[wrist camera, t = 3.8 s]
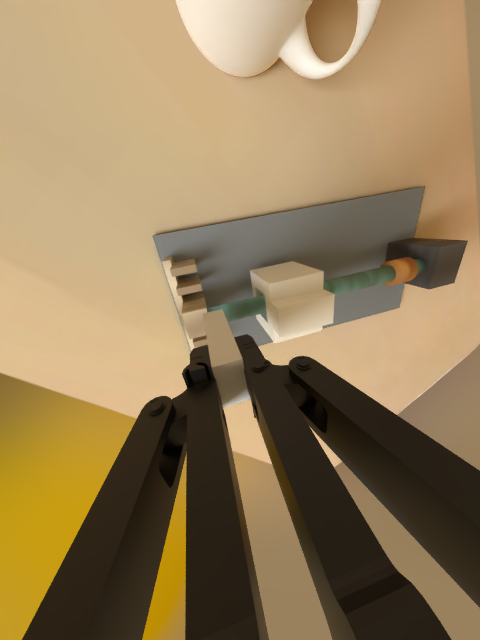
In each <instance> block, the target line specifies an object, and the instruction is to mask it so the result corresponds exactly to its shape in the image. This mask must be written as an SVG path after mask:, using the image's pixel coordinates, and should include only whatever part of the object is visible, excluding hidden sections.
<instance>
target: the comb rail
mask: <svg viewBox="0 0 480 640" xmlns="http://www.w3.org/2000/svg"><path fill="white" fill-rule="evenodd" d="M467 242H468V241H462V240H441V239H421V238H408V239H404V240H399V241H394V242H390V243H388V247H387V253H386V259H385V262H384V263H383V264H382V265H381V266H380V268H375V269H371V270H367V271H363V272H358V273H354V274H350V275H346V276H341V277H337V278H333V279H329V280H325V281H323V289H324V290H326V291H329V292H331V293H333V294H335V295H339V294H343V293H347V292H351V291H355V290H359V289H363V288H367V287H371V286H375V285H379V284H384V285H387V286H392V285H396V284H400V283H406V284H410V285H414V286H418V287H422V288H426V289H432V288H436V287H440V286H444V285H448V284H451V283H454V282H455V278H456V275H457V272H458V269H459V266H460V263H461V260H462V257H463V254H464V251H465V248H466V245H467ZM162 264H163V267H164V270H165V273H166V276H167V279H168V282H169V285H170V288H171V291H172V294H173V298H174V301H175V304H176V307H177V310H178V313H179V316H180V319H181V322H182V325H183V328H184V331H185V334H186V337H187V340H188V343H189V346H190V349H191V351H192V350H193V348H197V347H201V346H205V345H208V342H207V336H206V330H205V324H204V318H203V313H207V312H212V311H216V310H220V309H222V310H223V312H224V314H225V317H226V319H227V322H231V321H235V320H239V319H243V318H247V317H251V316H255V315H259V314H263V313H267V311H266V302H265V295H261V296H257V297H253V298H248V299H244V300H240V301H236V302H232V303H227V304H223V305H219V306H215V307H210V308H207V306H206V302H205V298H204V294H203V292H199V293H194V292H198V291H202V287H201V283H200V278H199V275H197V276H192V277H187V278H183V279H178V276H180V275H184V274H189V273H194V272H197V267H196V263H195V259H189V260H184V261H179V262H174V263H173V259H172V257H170V258H164V259H163V261H162ZM189 293H194V294H190V295H185V294H189ZM183 295H185V296H183Z"/></svg>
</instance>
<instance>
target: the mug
mask: <svg viewBox="0 0 480 640" xmlns="http://www.w3.org/2000/svg"><path fill="white" fill-rule="evenodd" d="M312 2H313V0H176V3H177V6H178V9H179V12H180V15H181V18H182V20H183V22H184V25H185V27H186V29H187V31H188V33H189V35H190V37H191V38H192V40H193V41H194V43H195V45H196V46H197V48H198V49H199V50H200V51H201V53H202V54H203V55H204V56H205V57H206V58H207V59H208V60H209V61H210V62H211V63H212V64H213V65H214V66H216V67H217V68H218V69H220V70H221V71H223V72H225V73H227V74H230V75H233V76H238V77H251V76H255V75H258V74H260V73H262V72H264V71H265V70H267V69H268V68H269V67H271V66H272V65H273V64H274V63H275V62H276V61H277V60H278V59H279V58H281V59H282V60H283V61H284V62H285V63H286V64H287V66H289V67H290V68H291V69H292V70H293V71H294V72H296V73H297V74H299V75H301V76H303V77H305V78H309V79H322V78H326V77H329V76H331V75H333V74H335V73H336V72H338V71H339V70H341V69H342V68H343V67H344V66H345V65H346V64H348V63H349V62H350V61H351V60H352V58H353V57H354V56H355V55H356V54H357V52H358V51H359V50H360V48H361V47H362V45H363V43H364V42H365V40H366V39H367V37H368V34H369V32H370V30H371V28H372V26H373V24H374V21H375V18H376V15H377V12H378V10H379V7H380V4H381V0H357V4H358V20H357V26H356V32H355V36H354V39H353V42H352V44H351V46H350V48H349V50H348V52H347V53H346V54H345V55H344V57H343V58H341V59H340V60H338V61H337V62H334V63H326V62H324V61H322V60H321V59H319V58H318V56H317V55H316V54H315V52H314V50H313V49H312V46H311V44H310V41H309V37H308V33H307V28H306V20H305V16H306V12H307V11H308V9H309V7H310V5H311V3H312Z"/></svg>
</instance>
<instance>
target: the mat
mask: <svg viewBox="0 0 480 640" xmlns="http://www.w3.org/2000/svg"><path fill="white" fill-rule="evenodd" d="M424 189H425V186H424V187H418V188H413V189H407V190H402V191H396V192H391V193H385V194H380V195H374V196H369V197H363V198H358V199H352V200H347V201H341V202H336V203H330V204H325V205H319V206H314V207H308V208H303V209H297V210H292V211H286V212H281V213H275V214H270V215H264V216H259V217H253V218H248V219H242V220H237V221H231V222H226V223H220V224H214V225H209V226H203V227H198V228H192V229H187V230H181V231H176V232H170V233H165V234H159V235H154V236H153V239H154V242H155V245H156V248H157V251H158V254H159V257H160V260H161V263H162V261H163V259H164V258H170V257H172V259H173V263H174V262H179V261H184V260H189V259H195V263H196V267H197V272H194V273H189V274H184V275H180V276H178V279H183V278H187V277H192V276H197V275H199V278H200V283H201V287H202V291H198V292H194V293H199V292H203V294H204V298H205V302H206V306H207V308H210V307H215V306H219V305H223V304H227V303H232V302H236V301H240V300H244V299H248V298H253V290H252V283H251V276H250V270H254V269H259V268H263V267H268V266H272V265H277V264H282V263H286V262H291V261H294V262H297V263H300V264H303V265H306V266H309V267H312V268H315V269H318V270H321V271H324V281H325V280H329V279H333V278H337V277H341V276H346V275H350V274H354V273H358V272H363V271H367V270H371V269H375V268H380V266H381V265H382V264H383V263H384V262H385V259H386V253H387V247H388V243H390V242H394V241H399V240H404V239H408V238H414V236H415V231H416V227H417V222H418V217H419V212H420V208H421V203H422V198H423V194H424ZM162 266H163V264H162ZM163 269H164V267H163ZM164 273H165V270H164ZM165 276H166V273H165ZM166 279H167V276H166ZM167 282H168V279H167ZM168 285H169V282H168ZM169 288H170V285H169ZM403 288H404V283H400V284H396V285H392V286H387V285H384V284H379V285H375V286H371V287H367V288H363V289H359V290H355V291H351V292H347V293H343V294H339V295H335V297H334V316H333V323H332V324H328V325H325V326H322V329H323V328H327V327H330V326H334V325H338V324H341V323H345V322H349V321H352V320H356V319H360V318H363V317H367V316H371V315H374V314H378V313H382V312H386V311H389V310H393V309H397V308H399V307H400V302H401V297H402V292H403ZM170 291H171V288H170ZM194 293H189V294H185V295H190V294H194ZM171 294H172V291H171ZM185 295H183V296H185ZM172 297H173V294H172ZM173 300H174V298H173ZM174 303H175V301H174ZM175 306H176V304H175ZM176 309H177V307H176ZM177 312H178V310H177ZM178 315H179V313H178ZM179 318H180V316H179ZM180 321H181V319H180ZM181 324H182V322H181ZM228 324H229V327H230V329H231V332H232V334H233V337H237V336H241V335H245V334H248V335H250V336H251V337H253V339H254V341H255V343H256V344H257V346H260V345H264V344H267V343H271V342H273V340H272V339H271V338H270V336H269V335H268V334H267V332H266V331H265V330H264V328H263V327H262V325H261V324H260V323H259V321H258V320H257V319H256V315H255V316H251V317H247V318H243V319H239V320H235V321H231V322H228ZM182 327H183V325H182ZM183 330H184V328H183ZM184 333H185V331H184ZM185 336H186V334H185ZM186 339H187V337H186ZM187 342H188V340H187ZM188 345H189V343H188ZM189 348H190V346H189ZM190 351H191V349H190Z"/></svg>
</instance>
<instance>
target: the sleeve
mask: <svg viewBox="0 0 480 640" xmlns="http://www.w3.org/2000/svg"><path fill="white" fill-rule="evenodd" d="M250 276H251V283H252V290H253V297H257V296H261V295H265V302H266V311H267V313H263V314H259V315H256V319H257V320H258V321H259V323H260V324H261V325H262V327H263V328H264V330H265V331H266V332H267V334H268V335H269V336H270V338H271V339H272V340H273V342H274V343H278V342H282V341H285V340H289V339H293V338H296V337H300V336H304V335H307V334H311V333H315V332H319V331H322V326H325V325H328V324H332V323H333V316H334V297H335V294H333V293H331V292H329V291H326V290H324V289H323V281H324V271H321V270H318V269H315V268H312V267H309V266H306V265H303V264H300V263H297V262H294V261H291V262H286V263H282V264H277V265H272V266H268V267H263V268H259V269H254V270H250Z"/></svg>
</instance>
